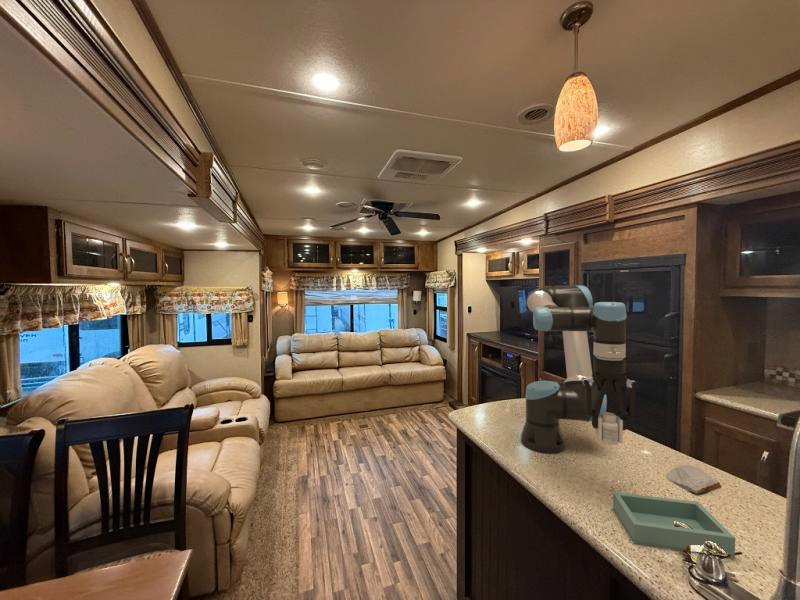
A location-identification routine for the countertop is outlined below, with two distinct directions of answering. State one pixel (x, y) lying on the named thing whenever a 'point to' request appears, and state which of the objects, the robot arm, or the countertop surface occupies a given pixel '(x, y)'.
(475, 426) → the countertop surface
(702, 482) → the stone
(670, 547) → the tray
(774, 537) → the countertop surface
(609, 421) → the pill bottle
